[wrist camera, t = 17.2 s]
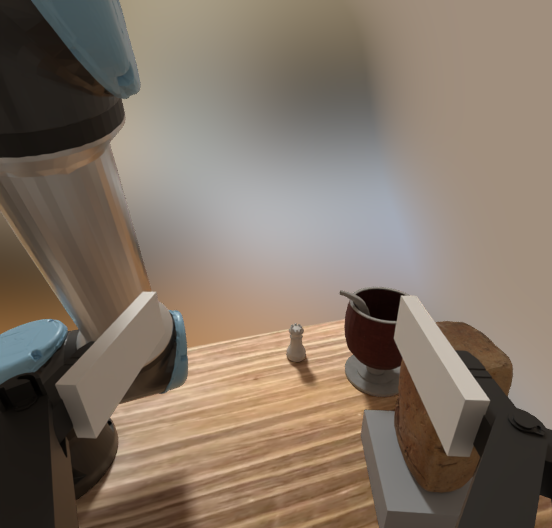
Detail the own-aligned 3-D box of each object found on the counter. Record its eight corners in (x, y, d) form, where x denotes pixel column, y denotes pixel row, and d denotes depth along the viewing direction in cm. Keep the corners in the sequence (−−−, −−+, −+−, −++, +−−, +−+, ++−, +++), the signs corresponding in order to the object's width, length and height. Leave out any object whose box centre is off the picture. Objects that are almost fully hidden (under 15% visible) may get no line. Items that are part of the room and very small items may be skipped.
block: (479, 495, 37) (532, 367, 29) (420, 503, 36) (457, 374, 28) (429, 418, 47) (458, 306, 38) (382, 423, 46) (401, 311, 38)
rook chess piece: (295, 366, 66) (295, 335, 63) (282, 355, 69) (281, 326, 66) (310, 357, 68) (311, 327, 65) (296, 347, 72) (297, 318, 68)
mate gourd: (394, 350, 70) (408, 272, 62) (423, 399, 57) (444, 308, 49) (327, 352, 70) (332, 274, 62) (341, 402, 57) (349, 311, 49)
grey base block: (381, 538, 38) (387, 510, 35) (360, 435, 51) (364, 409, 48) (499, 547, 37) (513, 519, 34) (447, 439, 50) (455, 413, 47)
